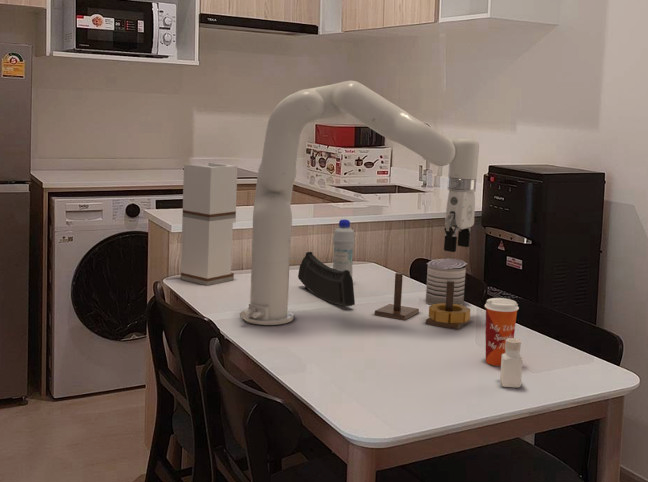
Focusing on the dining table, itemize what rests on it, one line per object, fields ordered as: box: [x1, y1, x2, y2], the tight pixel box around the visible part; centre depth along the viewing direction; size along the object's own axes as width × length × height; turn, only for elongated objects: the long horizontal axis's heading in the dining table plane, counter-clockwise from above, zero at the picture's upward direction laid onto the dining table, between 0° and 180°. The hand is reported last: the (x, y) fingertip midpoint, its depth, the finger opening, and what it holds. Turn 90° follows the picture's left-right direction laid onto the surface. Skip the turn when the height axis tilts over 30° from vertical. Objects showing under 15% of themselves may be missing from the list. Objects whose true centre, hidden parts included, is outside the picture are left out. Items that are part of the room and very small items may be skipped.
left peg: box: [374, 272, 420, 321], centre depth 222 cm, size 9×9×11 cm
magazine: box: [297, 251, 356, 307], centre depth 235 cm, size 17×3×30 cm
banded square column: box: [180, 162, 238, 286], centre depth 249 cm, size 11×11×35 cm
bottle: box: [332, 218, 356, 278], centre depth 255 cm, size 7×7×20 cm
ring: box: [428, 303, 471, 323], centre depth 217 cm, size 10×10×3 cm
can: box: [425, 257, 468, 306], centre depth 238 cm, size 11×11×12 cm
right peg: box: [425, 280, 471, 330], centre depth 216 cm, size 9×9×11 cm
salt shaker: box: [499, 337, 524, 388], centre depth 171 cm, size 4×4×10 cm
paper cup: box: [484, 297, 520, 367], centre depth 186 cm, size 8×8×14 cm
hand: (456, 248), depth 219 cm, fingers open, 9 cm apart
